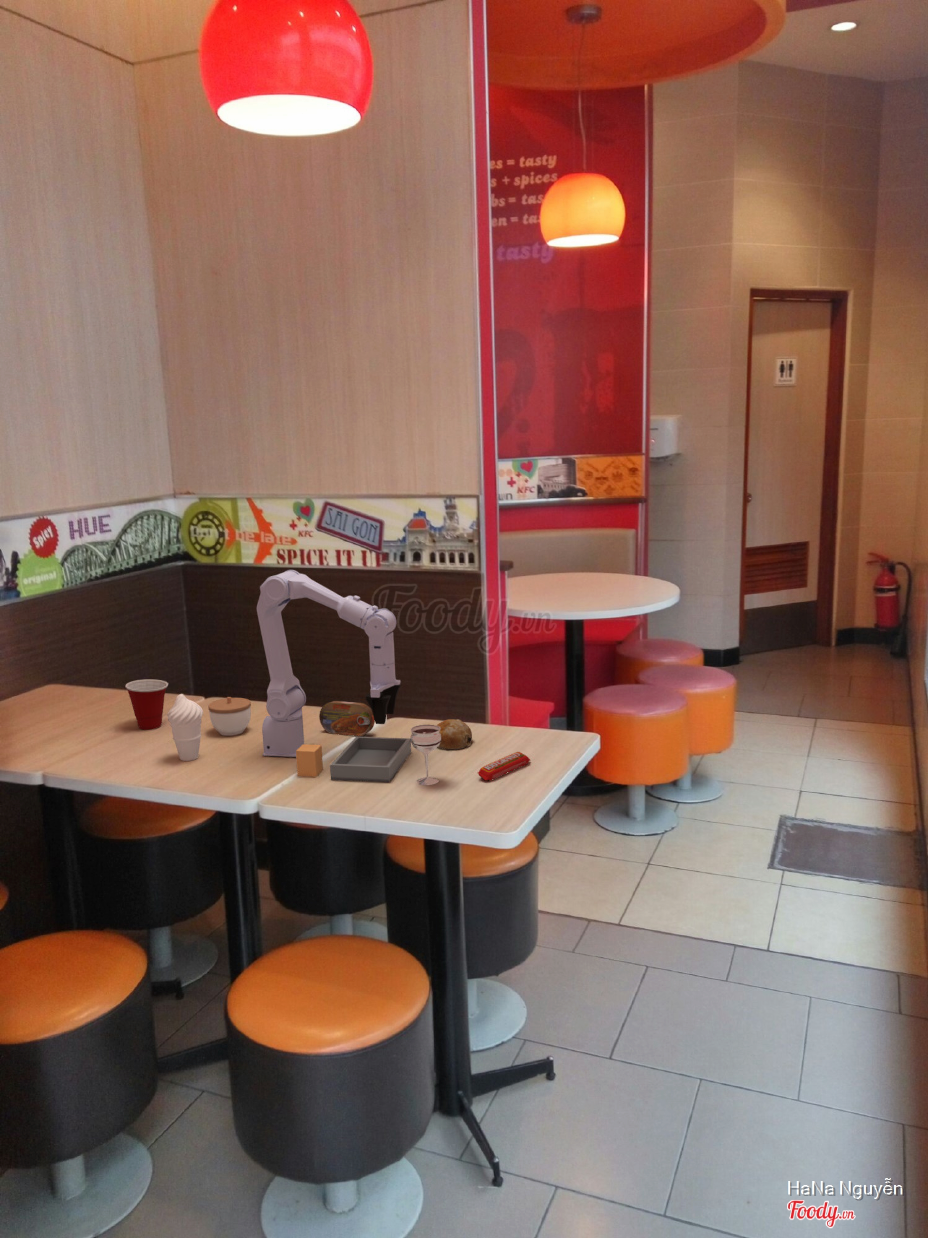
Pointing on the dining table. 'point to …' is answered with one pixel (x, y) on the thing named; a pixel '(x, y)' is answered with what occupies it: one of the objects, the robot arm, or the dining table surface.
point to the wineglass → (426, 746)
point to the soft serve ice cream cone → (186, 727)
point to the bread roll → (454, 734)
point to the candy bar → (503, 766)
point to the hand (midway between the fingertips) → (384, 718)
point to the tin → (346, 718)
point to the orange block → (309, 760)
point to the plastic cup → (147, 702)
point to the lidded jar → (230, 715)
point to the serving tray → (371, 759)
